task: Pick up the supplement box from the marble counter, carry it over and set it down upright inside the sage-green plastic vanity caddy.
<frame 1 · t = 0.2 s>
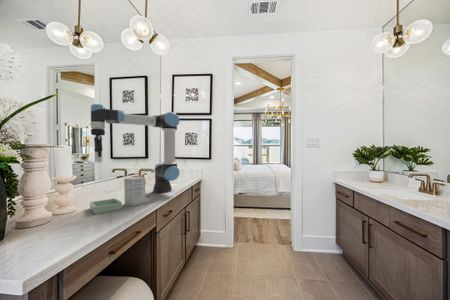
hand: (98, 162, 128), 28 cm above the worktop, fingers open, 13 cm apart
supplement box: (135, 203, 131), on the worktop
caddy: (105, 208, 119), on the worktop
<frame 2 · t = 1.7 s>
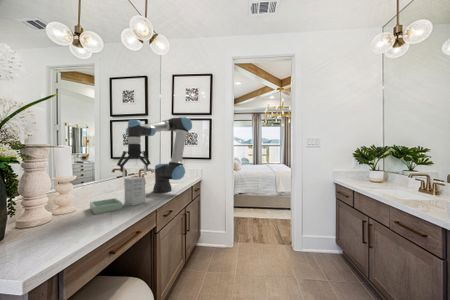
hand: (134, 176, 131), 18 cm above the worktop, fingers open, 13 cm apart
nothing on the worktop moved.
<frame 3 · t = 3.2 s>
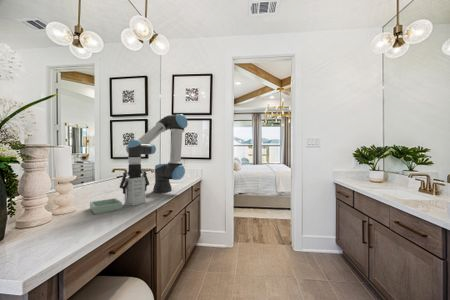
hand: (135, 197, 131), 4 cm above the worktop, fingers closed on supplement box, 11 cm apart
supplement box: (135, 203, 131), on the worktop, touching gripper
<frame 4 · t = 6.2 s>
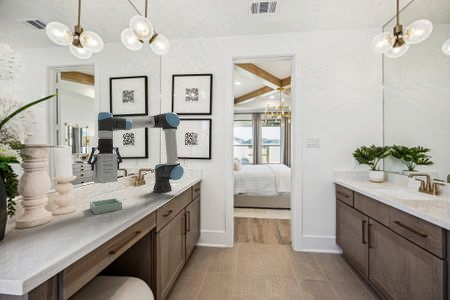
hand: (105, 175, 120), 20 cm above the worktop, fingers closed on supplement box, 11 cm apart
supplement box: (105, 182, 120), point 16 cm above the worktop, touching gripper
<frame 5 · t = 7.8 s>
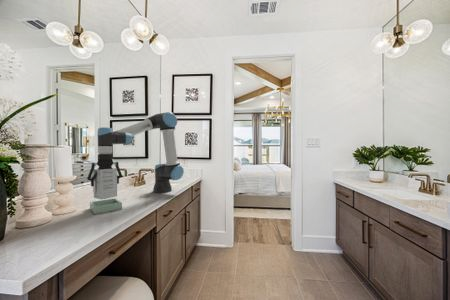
hand: (105, 190, 119), 11 cm above the worktop, fingers closed on supplement box, 11 cm apart
supplement box: (105, 197, 119), point 7 cm above the worktop, touching gripper
when the fingers open (6 cm above the worktop, at t = 9.3 s): supplement box drops 2 cm, resting on caddy.
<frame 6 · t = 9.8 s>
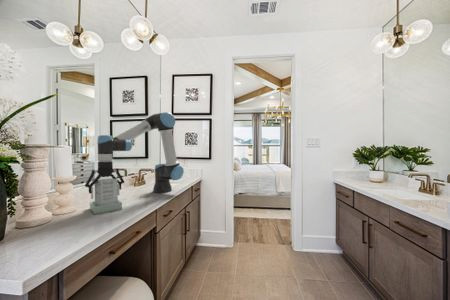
hand: (105, 196, 119), 7 cm above the worktop, fingers open, 13 cm apart
supplement box: (106, 207, 120), point 1 cm above the worktop, touching caddy
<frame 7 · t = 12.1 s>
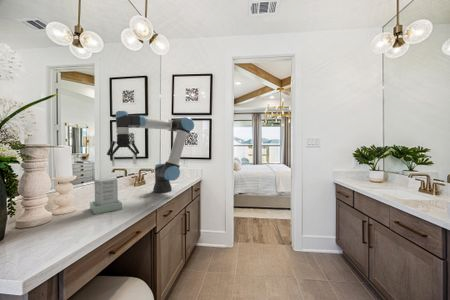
hand: (124, 164, 138), 25 cm above the worktop, fingers open, 13 cm apart
nothing on the worktop moved.
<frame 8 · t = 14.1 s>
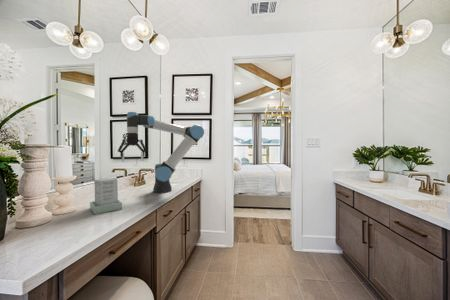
hand: (132, 161, 150), 27 cm above the worktop, fingers open, 13 cm apart
nothing on the worktop moved.
at the end: supplement box inside the target area on the caddy (0.3 cm from its centre), point 0.6 cm above the caddy's base; supplement box tilted 0°; the gripper is holding nothing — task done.
